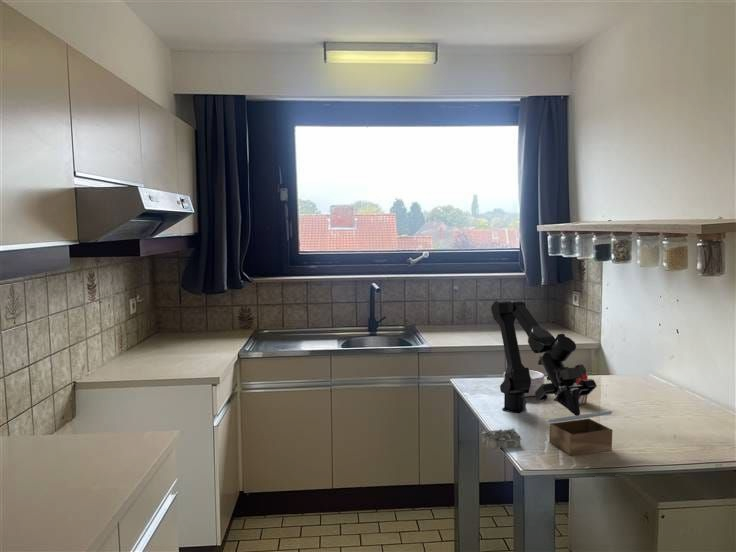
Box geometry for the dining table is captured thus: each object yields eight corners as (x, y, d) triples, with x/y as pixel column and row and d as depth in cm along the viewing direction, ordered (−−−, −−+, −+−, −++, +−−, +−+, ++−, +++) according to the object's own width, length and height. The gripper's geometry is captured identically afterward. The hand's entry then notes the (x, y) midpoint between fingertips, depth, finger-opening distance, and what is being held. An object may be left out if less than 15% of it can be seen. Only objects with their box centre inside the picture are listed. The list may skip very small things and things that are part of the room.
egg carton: (487, 450, 163) (487, 436, 163) (480, 440, 171) (480, 427, 170) (523, 448, 164) (523, 435, 164) (514, 439, 171) (514, 426, 171)
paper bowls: (519, 385, 228) (519, 366, 228) (551, 394, 217) (552, 374, 216) (495, 392, 219) (495, 372, 218) (528, 401, 207) (528, 380, 206)
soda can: (562, 401, 207) (563, 369, 206) (572, 398, 212) (573, 366, 210) (581, 406, 202) (582, 373, 201) (590, 402, 206) (591, 370, 205)
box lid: (549, 422, 167) (548, 419, 167) (589, 417, 171) (588, 414, 172) (570, 419, 158) (569, 416, 158) (611, 414, 162) (611, 410, 162)
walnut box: (549, 443, 168) (549, 423, 167) (588, 437, 172) (588, 418, 171) (571, 456, 158) (571, 435, 158) (611, 449, 162) (612, 429, 162)
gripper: (541, 357, 166) (564, 405, 157) (593, 353, 172) (618, 398, 162) (525, 377, 174) (546, 423, 165) (576, 372, 180) (599, 416, 170)
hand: (578, 415), depth 165 cm, fingers closed, pressing on box lid
